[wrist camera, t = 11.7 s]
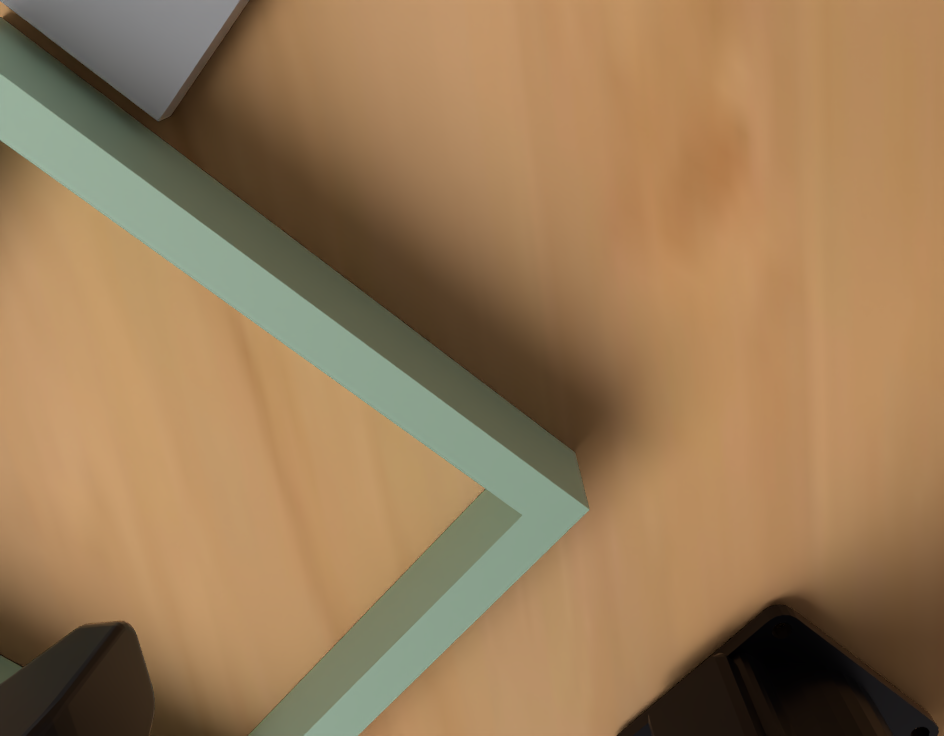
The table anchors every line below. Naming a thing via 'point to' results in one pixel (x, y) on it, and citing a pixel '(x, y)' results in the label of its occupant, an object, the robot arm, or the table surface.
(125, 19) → the slate tile
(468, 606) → the green tray
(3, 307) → the table surface
